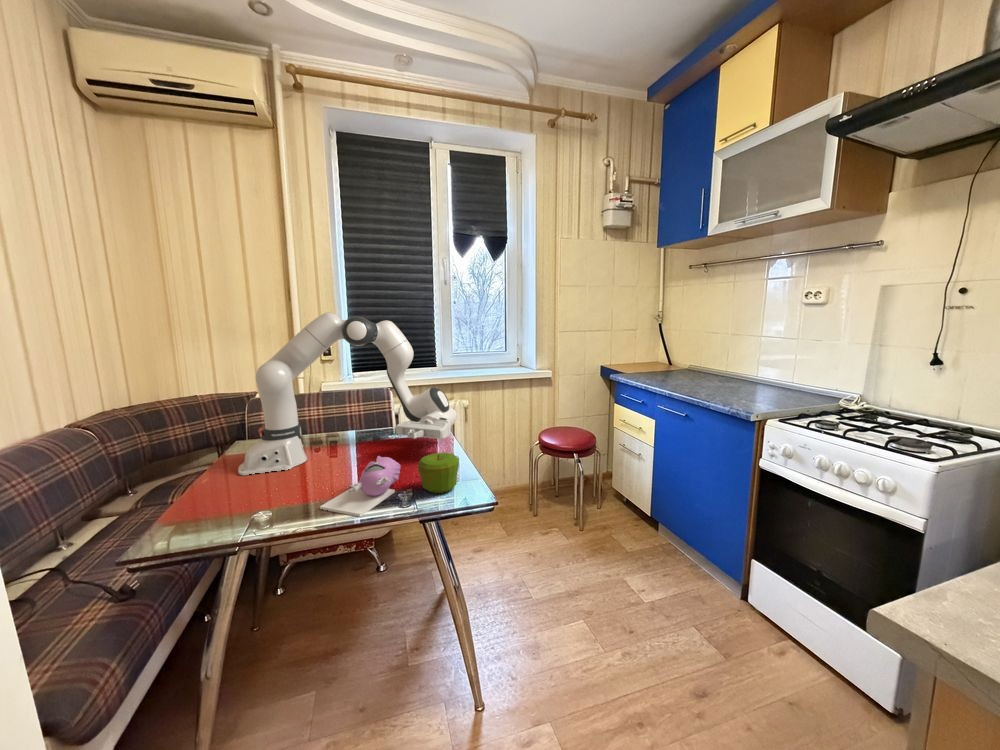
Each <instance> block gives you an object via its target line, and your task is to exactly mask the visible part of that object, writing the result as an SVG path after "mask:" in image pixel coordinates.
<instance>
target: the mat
mask: <svg viewBox="0 0 1000 750" xmlns="http://www.w3.org/2000/svg"><path fill="white" fill-rule="evenodd" d="M353 488H354V487H351V488H349V489H347V490H346V491H349V490H350V489H353ZM346 491H344V492H342V493H340V494H339V495H337V496H335V497H334V498H332V499H330V500H328V501H326V502H325V503H323V504H322V505H320V506H319V509H320V510H322V509H323V511H327V510H328V512H333V513H338V514H344V515H348V516H355V517H362V516H363V515H365V514H366V513H368V512H370V510H372V509H374V508H375V507H376V506H377V505H379V504H380V503H382V502H383V501H384V500H386V499H387V498H389V497H390V496H391V495H393V494H395V493H396V490H395V489H392V488H389V489H388V490H387V491H386V492H384V493H383V494H381V495H378V496H369V495H367V494H365V493H364V492H363V491H362V490H361V488H359V489H358V490H357V492H354V491H353V492H351V493H350V494H348V493H347V492H346Z"/></svg>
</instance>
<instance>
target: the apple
mask: <svg viewBox="0 0 1000 750" xmlns="http://www.w3.org/2000/svg"><path fill="white" fill-rule="evenodd" d="M459 466H460V458H459V457H458V456H456V455H455V454H454V453H452V452H451V453H450V452H436V453H432V454H428V455H425V456H423V457H421V458H420V460H419V461H418V464H417V471H418V473H419V474H418V475H419V476H420V480H421V485H422V488H423V489H424V490H426V491H428V492H430V493H432V494H444V492H445V493H447V491H448V492H450V491H451V490H452V489H453V488H455V486H456V485H457V484H458V471H459Z"/></svg>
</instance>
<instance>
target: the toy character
mask: <svg viewBox="0 0 1000 750" xmlns="http://www.w3.org/2000/svg"><path fill="white" fill-rule="evenodd" d="M401 467H402V466H401V464H400V463H399V462H397V461H396V460H395V459H393V458H392V457H389V456H388V457H387V456H380V455H377V457H376V460H375V461H374V460H373V461H369V462H368V463H367V465H366V466H365V468H364V469H363V470H362V473H361V476H360V478H359V481H358V482H357V483H356V484H349V487H351V488H352V487H354V488H353V489H350V488H349V489H350V490H349V489H348V490H349V491H347V490H346V492H347V493H348V494H350V493H351V492H353V491H354V492H357V490H358V489H359V488H361V490H362V491H363V492H364V493H365V494H367V495H369V496H378V495H381V494H383V493H384V492H386V491H387V490H388V489H390V487H391V486H392V485H393V484H394V483H395V482H397V481H399V476H400V474H401V471H400V470H401Z"/></svg>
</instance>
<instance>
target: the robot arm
mask: <svg viewBox="0 0 1000 750" xmlns="http://www.w3.org/2000/svg"><path fill="white" fill-rule="evenodd" d="M339 340H345V341H346V342H347V343H349V344H350V345H351V346H356V347H360V346H361V347H362V346H364V345H366V344H370V343H372V344H373V345H374V346H376V347H377V348H378V350H379V351H380V353H381V354H382V356H383V357H384V359H385V362H386V367H387V368H386V375H387V377H388V380H389V382H390V383H391V386H392V388H393V390H394V392H395V394H396V396H397V397H398V399H399V400H398V401H399V402H400V404H401V407H402V410H403V413H404V415H405V417H406V418H407V419H409V421H404V422H401V423H398V424H396V425H395V431H396V435H399V436H407V438H409V439H418V438H427V439H428V438H429V439H438V440H443V439H446V438H447V437H450V436H451V433H452V431H451V430H452V427H453V425H454V424H455V423H456V421H457V417H458V416H457V412H456V410H455V409H454V408H453V407H452V406H451V405H450V403H449V402H450V401H449V399H448V397H447V395H446V393H445V392H444V391H443V390H442V389H440V388H438V387H435V386H434V387H430V388H428V389H427V390H425V391H422V392H421V393H420V394H417V395H415V396H414V395H413V394H412V392H411V390H410V388H409V386H408V384H407V383H406V379H405V374H406V371H407V369H408V368H409V367H410V366H411V364H412V361H413V359H414V353H415V352H414V350H413V347H412V345H411V343H410V342H409V341H408V339H407V337H406V336H405V335H404V333H403V332H402V331H401V330H400V328H399V327H398V326H397V325H396V324H395V323H394V322H393V321H392V320H391V321H390V320H382V321H379V322H377V323H374V322H372V321H371V320H369V319H367V318H365V317H363V316H357V315H356V316H354V315H353V316H351V317H349V318H347V319H342V318H340V317H339V316H338V315H337V314H335V313H333V312H324V313H322V314H321V315H319V316H317V317H316V318H314V319H313V320H312V321H310V322H309V323H308V324H306V325H305V326H304V327H303V328H302V329H301V330H300V331H298V332H297V334H295V335H294V337H292V338H291V339H290V340H289V341H288V342H287V343H286V344H285V345H283V346H282V348H281V349H279V350H278V351H277V352H276V353H275V354H273V356H272V357H270V358H269V359H268V360H267V361H265V363H263V364H261V365H260V366H259V367H258V369H257V370H256V371H255V372H256V373H255V381H256V382H255V383H256V388H257V392H258V395H259V398H260V403H261V407H262V414H263V421H264V427H263V426H262V427H260V428H258V434H259V440H258V441H256V442H255V443H254V444H253V445H252V446H250V448H248V449H247V451H246V452H245V455H244V461H243V462H242V463H241V464H240V465H239V466H238V469H237V473H238V475H240V476H250V475H249V474H252V475H256V474H255V473H260V474H266V473H265V472H269V473H272V472H271V471H277V472H282V471H281V470H285V471H288V469H289V470H291V469H292V468H294V467H296V466H299V465H301V464H303V463H305V462H306V461H307V460H308V456H307V455H306V453H305V452H306V451H305V450H304V446H303V443H302V428H301V424H300V423H299V415H298V405H297V401H296V397H295V392H294V386H293V381H294V380H295V379H296V378H298V376H299V375H301V374H302V373H303V372H304V371H305V370H306V369H308V367H309V366H311V365H312V364H313V363H314V362H315V361H317V360H318V358H320V357H321V356H322V355H323V354H324V353H325V352H326V351H327V350H328V349H329V348H330V347H332V345H333V344H335V343H336V342H337V341H339Z"/></svg>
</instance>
